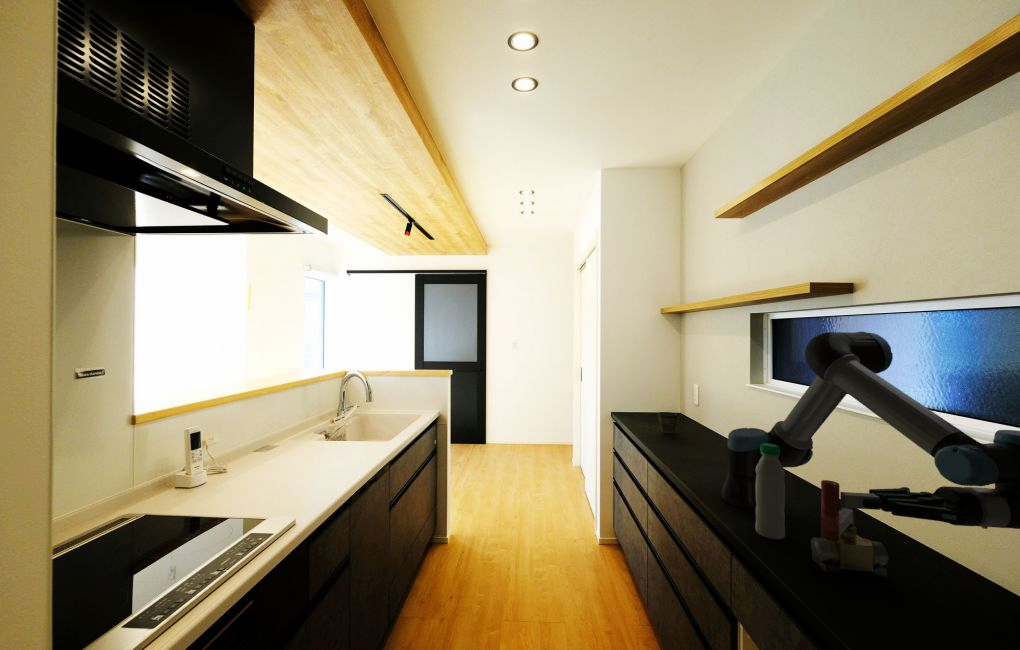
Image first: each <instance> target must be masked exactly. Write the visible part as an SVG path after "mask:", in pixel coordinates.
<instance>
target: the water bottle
mask: <svg viewBox="0 0 1020 650" xmlns="http://www.w3.org/2000/svg"><path fill="white" fill-rule="evenodd" d="M760 451H761V454H762V458H761V459H760V460H759V463H758V464H757V466H756V510H755V523H754V524H755V531H756V533H757V534H759V535H760V536H762V537H764V538H767V539H770V540H782V539H784V538H785V537H786V527H785V522H786V521H785V520H786V515H785V506H786V505H785V504H786V503H785V502H786V486H785V485H786V484H785V476H786V472H785V469H784V468H783V467H782V466H781V463H780V461H779V460H778V456H780V455H779V454H780V447H779V446H777V445H774V444H768V443H764V444H761V446H760Z"/></svg>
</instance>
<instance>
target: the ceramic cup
mask: <svg viewBox="0 0 1020 650" xmlns="http://www.w3.org/2000/svg"><path fill="white" fill-rule="evenodd" d="M657 415H658V417H657V418H658V423H659V428H660V432H661V433H664V434H674V433H675V430H676V427H677V426H678V425H680V424H681V423H682V422H683V417H682V416H678V413H675V412H670V411H669V412H668V411H661V412H660V411H659V412H658V413H657ZM679 418H680V419H681V420H680V421H679V422H677V420H678V419H679Z"/></svg>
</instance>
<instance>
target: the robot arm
mask: <svg viewBox="0 0 1020 650" xmlns="http://www.w3.org/2000/svg"><path fill="white" fill-rule="evenodd" d="M893 355H894V354H893V352H892V347H891V346H890V344H889V342H888V341H887V340H886V339H885V338H884V337H882V336H881V335H879V334H877V333H874V332H867V331H857V332H853V331H852V332H848V331H847V332H840V331H839V332H837V331H834V332H833V331H831V332H830V331H828V332H823V333H819V334H817V335H815V336H814V337H813V338H811V339H810V340H809V342H808V343H807V344H806V347H805V350H804V359H805V361H806V364H807V366H808V367H809V369H810V370H811V371H812V372H813V373H814V374H815V375H816V376H815V378H814V379H813V381H812V382H811V383H810V385H809V386H808V388H806V390H805V392H804V393H803V395H801V397H800V399H799V400H798V401H797V403H796V404H795V406H793V408H792V409H791V411H790V412H789V414H788V415H787V416H786V418H785V419H784V420H779V421H777V422H775V424H774V425H773V427H772V428H771V429H770V430H769V431H768V432H767V431H765V430H763V429H760V428H757V427H741V428H736V429H733V430H731V431H730V432H729V433H728V436H727V442H726V444H727V445H726V446H727V476H726V479H725V481H724V483H723V487H722V488H721V489H722V490H721V497H722V500H723V501H725V502H726V503H728V504H730V505H733V507H737V508H740V509H745V510H751V511H756V466H757V464H758V463H759V460H760V459H761V458H762V454H761V451H760V446H761V444H764V443H768V444H774V445H777V446H779V447H780V454H779V455H780V456H778V460H779V461H780V463H781V466H782V467H783V469H784V468H797V467H801V466H804V465H806V464H808V463H809V462H810V461H811V460H812V458H813V455H814V451H813V449H814V446H813V444H814V441H813V436H814V435H815V434H816V433H817V431H818V430H819V429H820V428H821V427H822V425H823V424H824V423H825V421H826V420H827V419H828V418H829V416H831V415H832V413H833V412H834V411H835V410H836V408H837V407H838V405H840V403H841V402H842V400H843V399H844V398H845V397H846V396H847V395H850V396H851V397H852V398H853V399H854V400H856V401H858V403H860V404H862V406H864V407H865V408H866V409H868V410H869V411H871V412H872V413H873V414H874V415H876V416H877V417H878V418H880V419H881V420H883V421H884V422H886V423H887V424H888V425H889V426H891V427H892V428H894V429H895V430H896V431H898V432H899V433H900V434H902V435H903V436H904V437H905V438H907V439H908V440H910V441H911V442H912V443H914V444H915V445H916V446H917V447H919V448H920V449H921V450H923V451H924V452H925V453H927V454H928V455H929V456H931V457H932V458H933V459H934V461H933V462H934V465H935V467H936V469H937V471H938V472H939V474H940V476H941V477H943V478H944V479H946V480H947V481H948V482H951V483H953V484H955V485H958V486H946V485H945V486H944V485H943V486H940V487H938V488H936V489H935V491H934V492H929V491H920V492H917V491H916V492H913V491H911V489H910V488H909V487H906V486H902V487H899V488H898V487H896V488H894V487H893V488H872V489H871V488H870V489H868V492H867V493H866V492H850V491H849V492H847V491H839V505H840V506H842V507H843V508H847V509H857V510H874V511H875V510H876V511H879V510H881V511H882V512H885V513H891V515H892V516H895V517H904V518H910V519H911V518H912V519H919V520H927V521H934V522H942V523H946V524H950V525H953V526H960V527H981V528H982V529H984V530H987V529H989V528H999V529H1014V530H1015V529H1016V530H1020V430H1017V429H1014V430H1013V429H999V430H997V431H996V432H995V433H994V438H993V440H992V443H991V442H989V443H981V442H980V441H977V440H976V439H975V438H973V437H971V436H970V435H969V434H967V433H965V431H964V432H963V431H962V430H961V429H959V428H958V427H956V426H954V425H953V424H952V423H950V422H949V421H947V420H946V419H944V417H941V416H940V415H939V414H937V413H935V412H934V411H932V410H931V409H929V408H928V407H926V406H925V405H923V404H922V403H920V402H919V401H917V400H916V399H914V398H913V397H911V396H909V394H906V393H905V392H904V391H902V390H901V389H900V388H897V386H894V385H893V384H892V383H890V382H889V381H887V380H886V379H884V378H883V377H881V376H880V375H878V374H880V373H883V372H885V371H886V370H888V369H889V368H890V366H891V364H892V363H893V359H894V358H893ZM989 485H994V488H990V487H989V488H988V487H985V486H989ZM962 486H965V487H962ZM974 486H975V487H974Z"/></svg>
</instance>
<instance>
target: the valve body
mask: <svg viewBox="0 0 1020 650" xmlns="http://www.w3.org/2000/svg"><path fill="white" fill-rule="evenodd" d="M857 533H858V528H857V527H856V526H855V525H854V527H852V528H851V527H847V528H846V529H845V530H844V532H843V533H842V534H841V535H840V536H839V541H830V540H827V539H824V538H823V537H822V536H821V537H811V540H810V548H811V557H812V561H813V562H814V563H816V564H817V565H818V567H819V568H821V569H822V570H823V571H824V572H825V573H835V574H840V571H841V570H843V571H844V570H845V571H856V572H857V571H858V572H867V573H868V574H870V575H871V576H872V577H873V576H875V577H884V578H885V577H886V578H887V576H888V575H887V574H888V571H887V568H885V567H884V566H887V565H888V562H889V555H888V554H889V553H888V551H887V549H886V548H885V546H884V544H882V543H881V542H880V541H876V540H875V541H873V540H870V539H869V538H862V537H861V536H860V535H859V534H857Z"/></svg>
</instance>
